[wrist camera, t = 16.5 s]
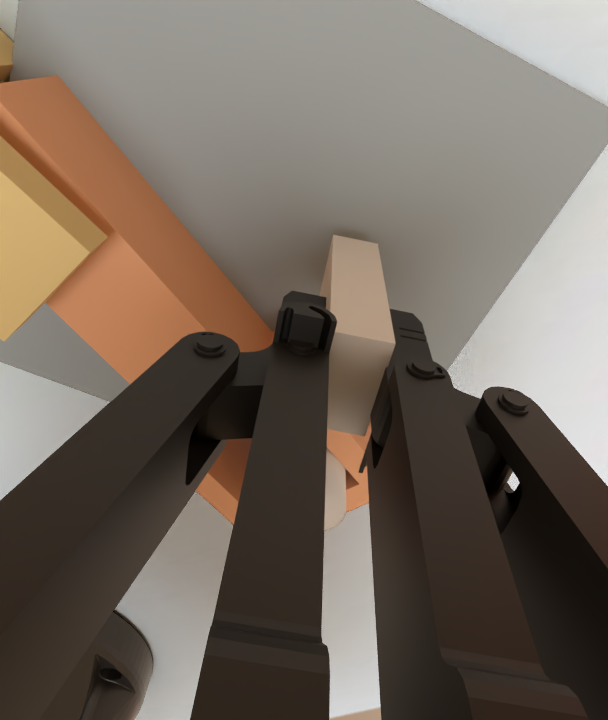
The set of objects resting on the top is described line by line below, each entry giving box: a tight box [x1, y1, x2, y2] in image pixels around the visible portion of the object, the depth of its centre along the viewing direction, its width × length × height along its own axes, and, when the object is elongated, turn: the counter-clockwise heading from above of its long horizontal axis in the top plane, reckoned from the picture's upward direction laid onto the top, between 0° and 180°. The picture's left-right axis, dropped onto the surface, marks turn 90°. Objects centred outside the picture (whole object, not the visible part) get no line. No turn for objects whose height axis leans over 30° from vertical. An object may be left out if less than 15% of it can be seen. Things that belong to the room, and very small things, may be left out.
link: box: [0, 75, 372, 525], centre depth 19 cm, size 17×6×4 cm, turn 36°
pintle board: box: [0, 0, 608, 531], centre depth 17 cm, size 18×22×7 cm
